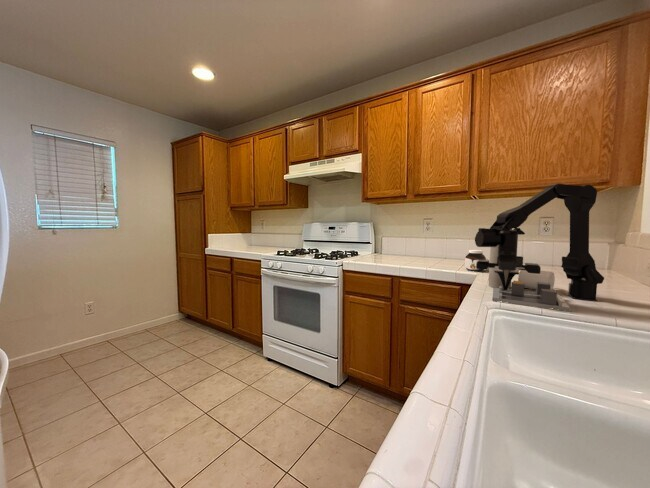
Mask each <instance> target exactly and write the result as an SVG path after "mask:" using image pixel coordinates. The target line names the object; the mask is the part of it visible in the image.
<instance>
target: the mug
mask: <svg viewBox="0 0 650 488" xmlns="http://www.w3.org/2000/svg"><path fill="white" fill-rule="evenodd" d="M517 281H522V282H523V283H524V289H529V290H535V291H536V285H537V282H544V283H549V284H550V285H551V286H550V290H554V287H555V281H556V277H555V273H554V272H553V271H549V270H548V271H546V270H542V269H541V270H540V274H535V273H528V272H527V271H526V270H519V274H518V280H517Z"/></svg>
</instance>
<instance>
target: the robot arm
mask: <svg viewBox="0 0 650 488" xmlns="http://www.w3.org/2000/svg"><path fill="white" fill-rule="evenodd" d="M597 197H598V189H597V188H596V187H594V186H593V185H591V184H583V185H576V184H564V183H555V184H550V185H548V186H546V187H545V188H543V189H542V190H541V191H540V192H538V193H537V194H535V195H534V196H531V197H530V198H529V199H526V201H524V202H523V203H521V204H520V205H518V206H516V207H513V208H510V209H507V210H505V211H503V212H501V213H498V215H497V216H496V219H495V221H494V222H493V224H492V225H491V226H490V227H489V228H487V227H486V228H485V227H479V228H478V231H477V233H476V234H475V237H474V243H475V246H476V247H478V248H490V247H496V246H497V245H498V257H497V263H489V261H490V260H489V261H487V260H478V261H477V263H476V269H485V271H487V270H486V269H487V268H494V269H495V270H494V272H495V273H498V275H499V277H500V279H501V281H502V285H503V288H504V290H507V288H508V286H509V284H510V282H511V283H512V280H513V278H514V277H515V276H517V275H519V273H520V270H526V271H527V272H528V273H535V274H540V270H541V271H542V269H541V266H540V265H539V264H538V263H533V262H532V263H531V262H525V263H524V256H522V255H521V256H518V241H519V236H520V235H525V234H526V233H525V232H524V231H523V230H522V229H521V228H520V227H521V226H522V225H523V224H524V223H525V222H526V221H527V220H528V218H529V216H531V214H533V213H534V212H536V211H537V210H539V209H541V208H542V207H543V206H545V205H547V204H548V203H550V202H551V201H553V200H555V199H558V200H559V199H560V200H563V201H564V206H565V207H566V209H567V210H568V212H569V252H568V253H567V254H566V256H561V266H560V268H562V269H563V270H562V271H563V272H564V273H565V276H566V278H567V279H569V280H570V282H569V283H568V290H567V291H568V292H567V294H568V295H569V296H570V298H572V299H575V300H577V299H578V300H584V301H585V300H586V301H595V302H598V301H599V300H598V299H597V291H598V289H597V288H598V284H603V283H604V281H605V277H604V276H603V275H602V274H601V273H600V272H599V270H597V265H596V260H595V259H594V257H593V255H591V254H590V211H591V210H592V208H593V207H594V206H595V203H596V200H597ZM510 229H512V230H510ZM500 231H503V233H500ZM504 270H509V271H508V275H507V280H506V284H505V276H504Z"/></svg>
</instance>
